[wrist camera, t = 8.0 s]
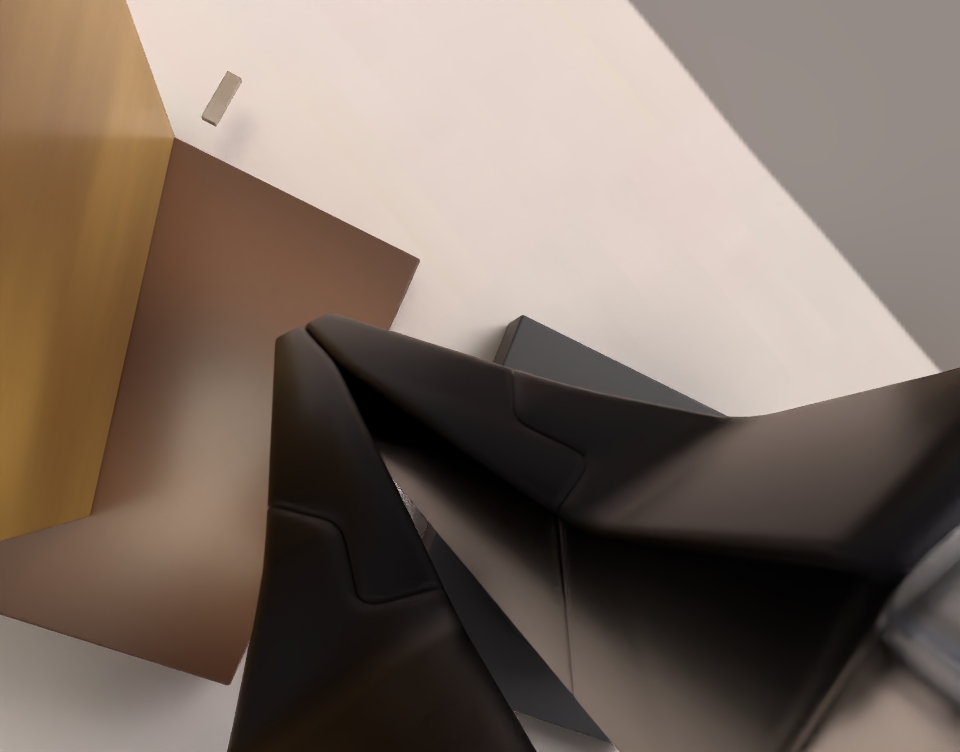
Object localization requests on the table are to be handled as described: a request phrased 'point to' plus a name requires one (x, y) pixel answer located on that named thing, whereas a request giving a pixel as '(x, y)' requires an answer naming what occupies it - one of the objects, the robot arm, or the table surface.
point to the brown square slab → (198, 418)
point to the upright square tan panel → (69, 242)
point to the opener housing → (482, 618)
